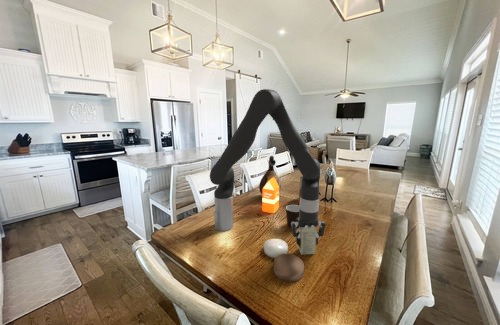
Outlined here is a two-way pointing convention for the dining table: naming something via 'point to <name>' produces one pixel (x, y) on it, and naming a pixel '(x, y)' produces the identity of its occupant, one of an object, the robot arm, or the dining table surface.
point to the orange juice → (270, 196)
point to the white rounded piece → (275, 247)
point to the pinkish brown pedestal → (288, 267)
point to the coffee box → (300, 186)
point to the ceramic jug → (269, 175)
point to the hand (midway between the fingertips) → (306, 244)
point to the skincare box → (307, 240)
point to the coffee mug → (292, 214)
